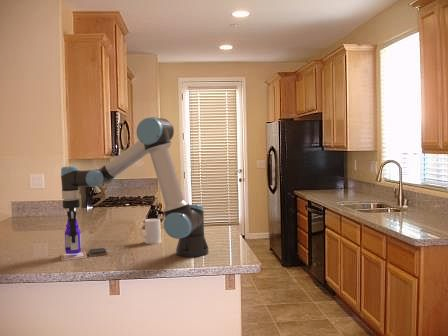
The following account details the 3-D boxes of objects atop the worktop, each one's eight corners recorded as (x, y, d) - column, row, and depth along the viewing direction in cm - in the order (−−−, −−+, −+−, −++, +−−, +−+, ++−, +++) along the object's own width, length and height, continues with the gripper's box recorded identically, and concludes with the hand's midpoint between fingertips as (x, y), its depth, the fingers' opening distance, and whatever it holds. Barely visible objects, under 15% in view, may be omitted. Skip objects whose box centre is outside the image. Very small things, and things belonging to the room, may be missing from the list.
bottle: (83, 251, 217) (81, 215, 216) (79, 254, 211) (77, 217, 210) (67, 251, 217) (65, 215, 216) (64, 254, 211) (61, 217, 210)
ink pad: (107, 254, 215) (107, 251, 215) (90, 256, 212) (89, 253, 212) (105, 250, 223) (105, 247, 223) (88, 252, 221) (88, 249, 221)
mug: (142, 245, 232) (141, 222, 232) (137, 242, 240) (136, 220, 239) (163, 242, 238) (163, 220, 237) (158, 239, 246) (157, 217, 245)
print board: (86, 257, 211) (86, 256, 211) (61, 260, 207) (61, 258, 207) (85, 252, 221) (85, 251, 221) (61, 255, 217) (61, 253, 217)
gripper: (80, 200, 205) (83, 251, 206) (78, 196, 223) (80, 243, 224) (62, 202, 202) (65, 253, 203) (61, 197, 220) (64, 245, 221)
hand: (73, 248), depth 214 cm, fingers closed on bottle, 6 cm apart
